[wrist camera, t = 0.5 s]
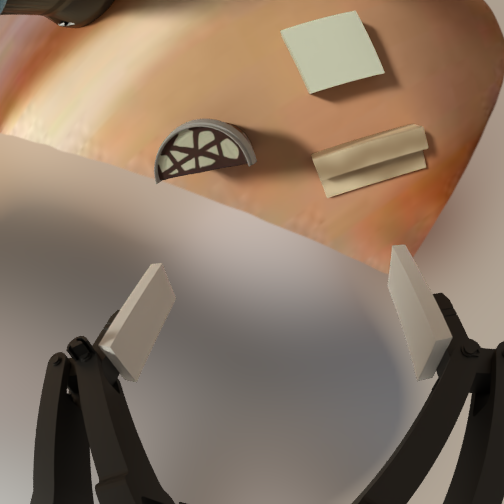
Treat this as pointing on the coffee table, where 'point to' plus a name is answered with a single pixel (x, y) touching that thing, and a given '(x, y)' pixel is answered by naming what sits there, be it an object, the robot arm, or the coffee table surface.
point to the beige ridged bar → (371, 159)
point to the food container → (202, 149)
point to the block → (332, 51)
